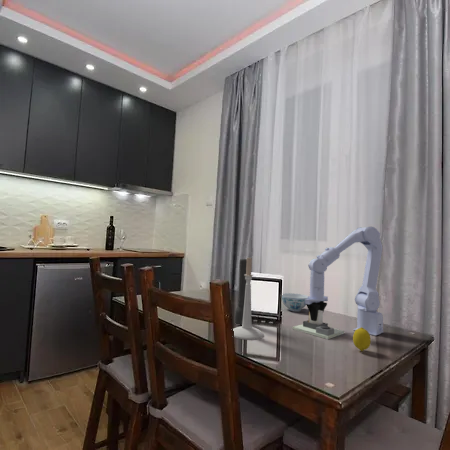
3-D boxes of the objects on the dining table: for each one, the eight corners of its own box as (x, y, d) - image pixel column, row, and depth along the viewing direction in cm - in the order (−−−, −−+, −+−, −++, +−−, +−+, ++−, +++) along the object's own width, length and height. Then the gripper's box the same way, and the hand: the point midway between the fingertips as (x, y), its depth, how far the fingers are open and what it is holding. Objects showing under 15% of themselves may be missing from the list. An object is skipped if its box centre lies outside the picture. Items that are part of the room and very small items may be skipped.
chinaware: (312, 309, 170) (312, 295, 170) (303, 314, 157) (304, 299, 158) (286, 305, 178) (286, 292, 178) (276, 310, 165) (276, 295, 165)
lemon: (355, 347, 109) (355, 324, 110) (372, 351, 106) (372, 327, 106) (350, 351, 105) (350, 327, 106) (367, 355, 102) (368, 330, 102)
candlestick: (265, 332, 124) (267, 256, 126) (260, 341, 112) (263, 258, 113) (234, 328, 127) (237, 255, 129) (226, 337, 115) (229, 256, 117)
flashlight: (250, 326, 131) (250, 322, 138) (252, 260, 133) (253, 259, 140) (234, 325, 132) (235, 321, 139) (236, 259, 133) (237, 258, 140)
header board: (344, 333, 126) (344, 325, 126) (327, 339, 118) (327, 330, 118) (310, 324, 138) (310, 316, 138) (292, 329, 129) (292, 320, 130)
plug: (322, 327, 129) (322, 310, 130) (318, 329, 127) (318, 311, 127) (311, 325, 133) (312, 308, 133) (307, 326, 131) (307, 309, 131)
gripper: (317, 284, 138) (317, 315, 138) (299, 287, 129) (298, 320, 128) (332, 287, 133) (331, 319, 132) (314, 289, 123) (313, 324, 123)
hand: (316, 319), depth 130 cm, fingers closed on plug, 3 cm apart
